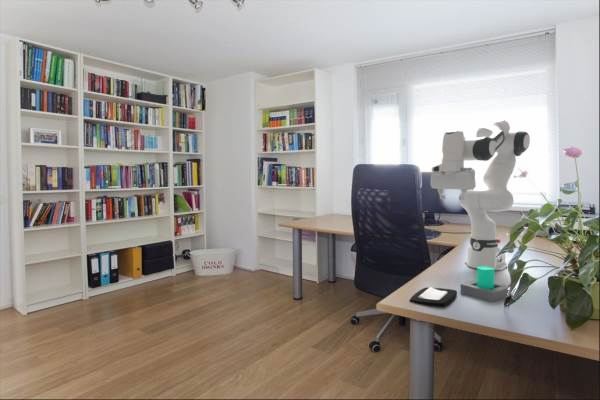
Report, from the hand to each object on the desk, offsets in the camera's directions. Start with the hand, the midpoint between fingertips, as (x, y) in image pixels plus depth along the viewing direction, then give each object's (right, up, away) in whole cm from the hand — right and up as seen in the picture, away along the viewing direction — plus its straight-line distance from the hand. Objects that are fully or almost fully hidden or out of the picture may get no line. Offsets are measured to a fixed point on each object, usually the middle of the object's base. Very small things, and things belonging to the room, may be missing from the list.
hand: (451, 199), depth 166 cm
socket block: (+6, -37, -19) cm, 41 cm away
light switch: (-16, -38, -23) cm, 47 cm away
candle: (+5, -37, -19) cm, 42 cm away
